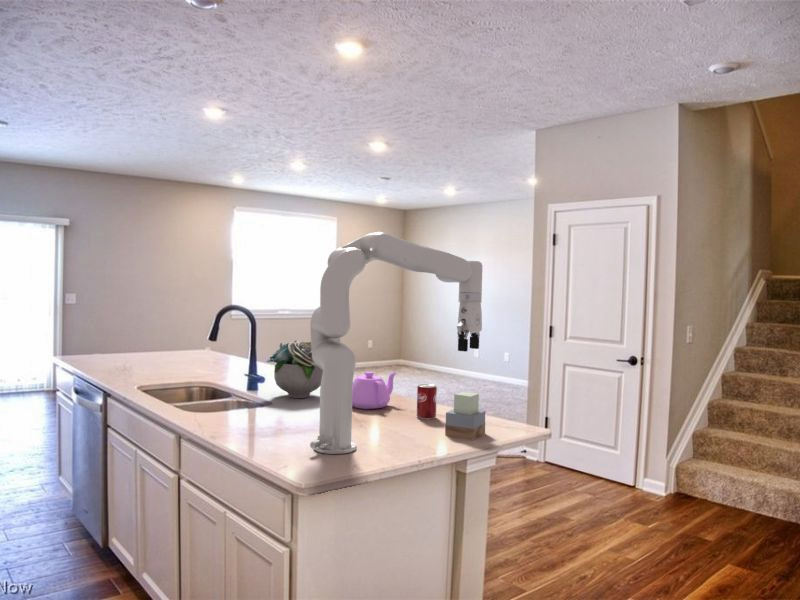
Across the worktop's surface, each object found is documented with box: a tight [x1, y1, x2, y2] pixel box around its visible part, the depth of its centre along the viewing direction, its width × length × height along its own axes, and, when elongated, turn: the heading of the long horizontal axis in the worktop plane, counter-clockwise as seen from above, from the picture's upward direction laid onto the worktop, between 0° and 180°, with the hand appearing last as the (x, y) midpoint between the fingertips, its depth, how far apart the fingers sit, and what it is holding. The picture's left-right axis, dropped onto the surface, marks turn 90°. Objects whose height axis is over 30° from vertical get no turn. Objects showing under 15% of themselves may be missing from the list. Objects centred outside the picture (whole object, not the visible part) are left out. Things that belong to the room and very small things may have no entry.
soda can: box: [416, 383, 438, 420], centre depth 216 cm, size 7×7×12 cm
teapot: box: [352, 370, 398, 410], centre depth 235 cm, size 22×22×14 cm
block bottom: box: [444, 422, 486, 441], centre depth 194 cm, size 10×10×4 cm
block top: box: [445, 408, 486, 429], centre depth 193 cm, size 10×10×4 cm
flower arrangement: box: [266, 340, 323, 399], centre depth 249 cm, size 25×25×24 cm
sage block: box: [453, 391, 480, 415], centre depth 193 cm, size 6×6×6 cm
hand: (468, 349), depth 193 cm, fingers open, 9 cm apart
